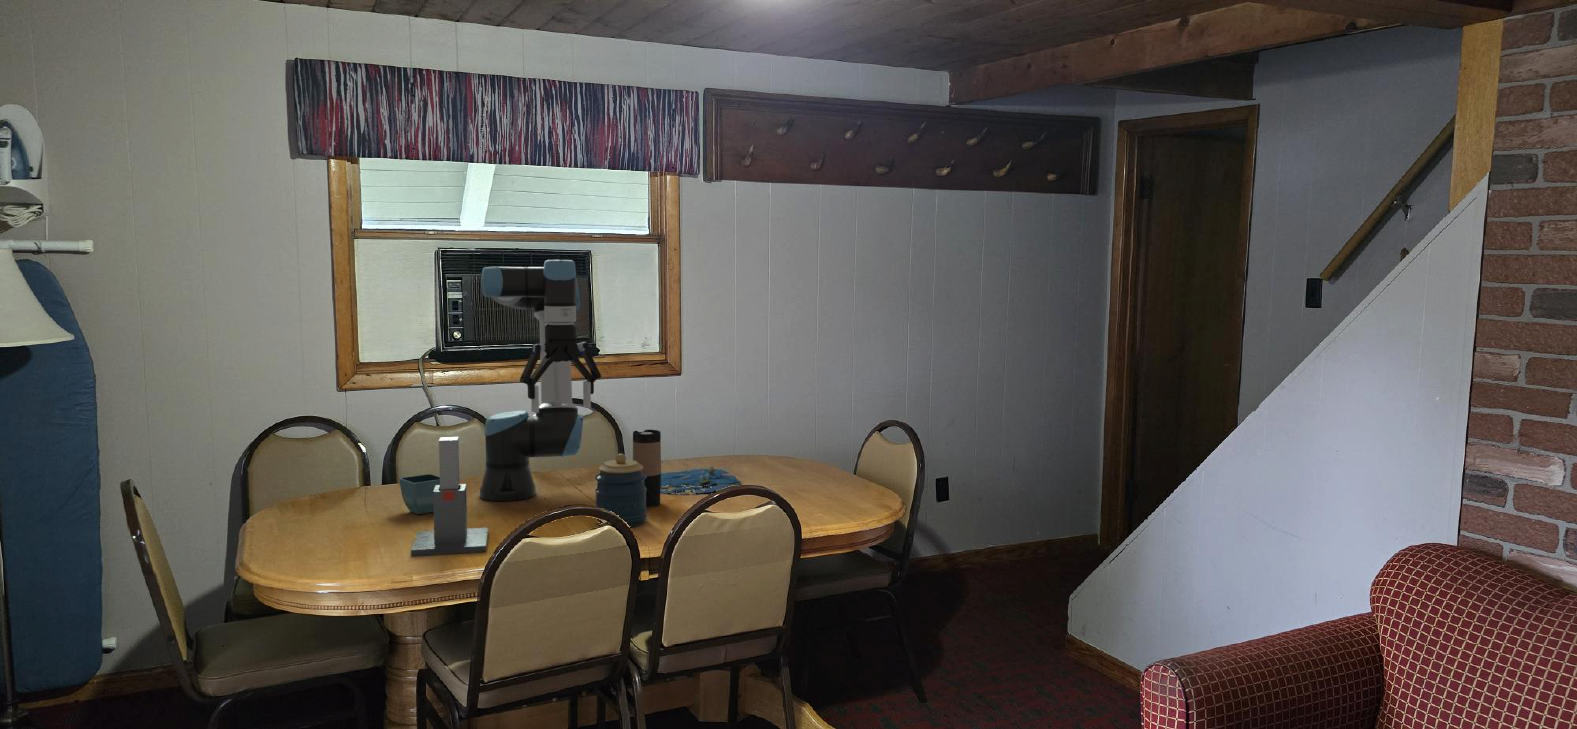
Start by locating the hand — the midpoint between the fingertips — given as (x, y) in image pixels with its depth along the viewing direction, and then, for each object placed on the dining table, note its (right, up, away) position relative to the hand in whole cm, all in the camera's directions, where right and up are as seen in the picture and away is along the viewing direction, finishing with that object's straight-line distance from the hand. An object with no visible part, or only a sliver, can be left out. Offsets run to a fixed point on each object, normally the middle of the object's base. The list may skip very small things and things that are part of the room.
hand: (561, 409), depth 250 cm
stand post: (-23, -29, -13) cm, 39 cm away
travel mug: (+17, -27, +27) cm, 42 cm away
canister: (+13, -29, +9) cm, 33 cm away
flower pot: (-40, -28, +17) cm, 51 cm away
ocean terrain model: (+27, -25, +52) cm, 64 cm away
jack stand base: (-23, -31, -13) cm, 40 cm away
